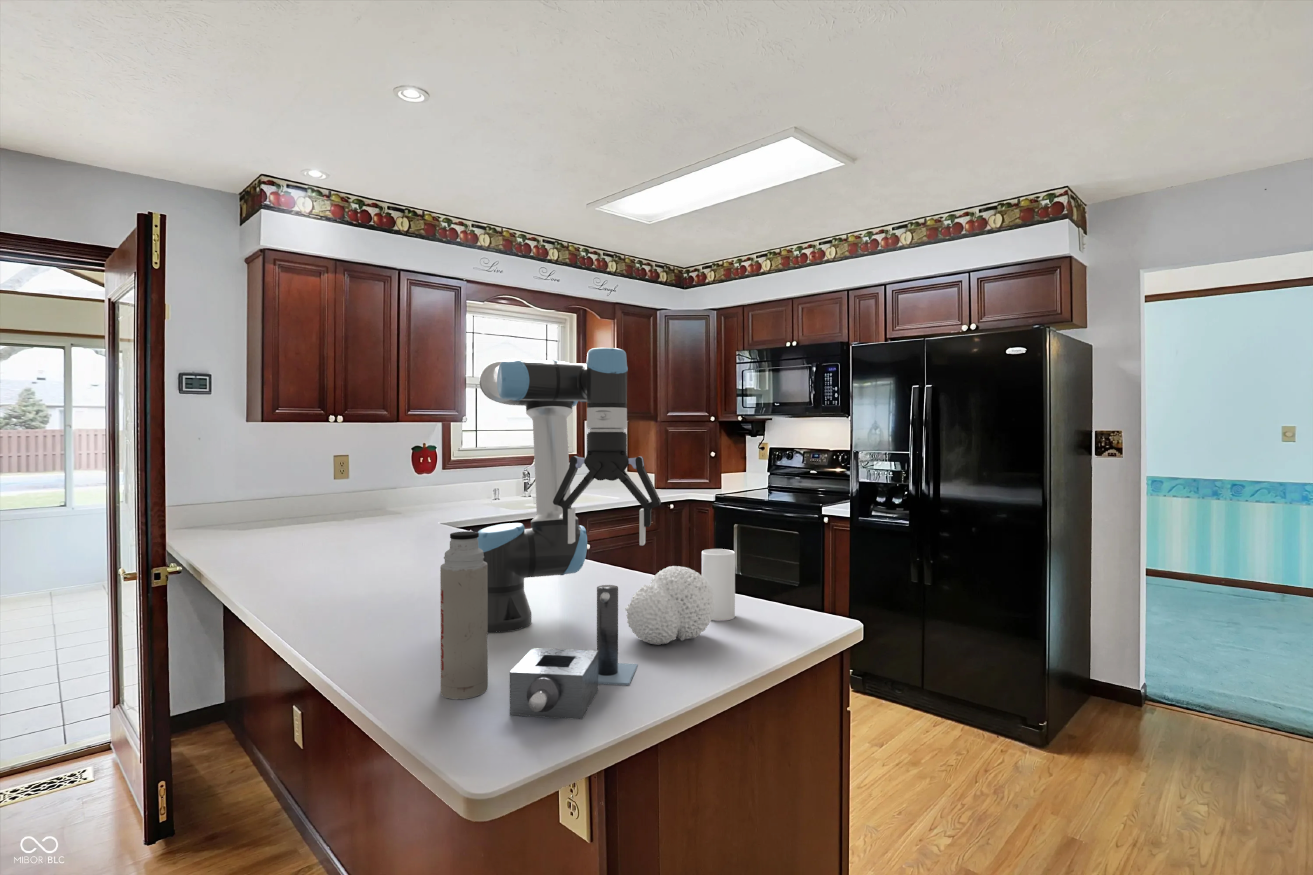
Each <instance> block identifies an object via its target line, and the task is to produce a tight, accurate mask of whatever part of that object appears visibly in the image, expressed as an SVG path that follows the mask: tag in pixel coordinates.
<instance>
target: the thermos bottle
mask: <svg viewBox="0 0 1313 875" xmlns="http://www.w3.org/2000/svg"><path fill="white" fill-rule="evenodd" d="M478 537H479V533H478V531H474V530H473V531H470V530H468V531H467V530H466V531H456V532H451V533H449V539H450V541H449V549H447V550H446V551H445V552H444V556H443V559H444V562H443V563H442V564H441V565H440V694H441V696H442V697H444V698H446V699H450V700H466V699H472V698H476V697H478V696H481V695H483V694H485V693H486V692H487V690H488V687H489V686H488V684H489V682H488V679H489V676H488V674H489V672H488V671H489V670H488V669H489V667H488V666H489V663H488V662H489V656H488V655H489V654H488V633H487V631H488V579H487V563H486V562H484V561H483V558H484V556H483V550H481V549H480V548H478V540H477V538H478Z"/></svg>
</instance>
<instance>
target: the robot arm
mask: <svg viewBox="0 0 1313 875" xmlns="http://www.w3.org/2000/svg"><path fill="white" fill-rule="evenodd" d="M586 353H587V354H586V355H587V356H586V361H585V363H574V362H573V363H570V362H567V361H561V360H556V359H551V360H547V359H544V360H543V359H519V358H509V359H506V358H505V359H502V360H501V359H500V360H497V361H496V360H495V361H493V362H491V363H488V365H486V366H485V367H484V368H482V370H481V373H480V375H479V386H480V389H481V392H482V393H483V394H484V396H485V397H486V398H487V399H489V400H491V401H494V402H496V403H499V404H503V405H509V406H522V407H523V406H525V411H526V412H525V413H526V415H527V416H528V417H530V419H532V431H533V433H532V434H533V455H534V456H533V457H534V460H533V461H534V482H535V485H534V486H535V504H536V505H535V506H536V508H535V509H536V515H534V517H533V518H532V520H530V528H525V525H524V524H523V523H521V522H512V523H510V522H509V523H500V524H495V525H491V526H487V527H484V528H482V529H481V528H480V529H479V530H478V531H477V532H478V533H479V537H478V538H477V540H478V548H480V549H481V550H483V556H484V558H483V561H484V562H486V563H487V579H488V631H487V634H488V633H490V634H492V633H494V634H495V633H496V634H497V633H506V632H507V633H508V632H513V631H518V630H521V629H524V628H526V627H528V626H530V625H531V624H532V621H533V620H532V617H533V616H532V609H531V606H530V605H529V602H528V601H529V600H528V598H527V595H526V592H525V579H526V578H527V579H528V578H538V577H539V578H541V577H550V576H551V577H552V576H564V575H570V574H576V573H578V572H579V571H581V569H582V568H583V566H584V564H585V560H586V556H587V551H588V535H587V530H586V528H585V526H583V525H580V524H579V518H578V517H577V516H576V507H572V506H573V504H574V503H575V502H576V500H577V499H578V498H579V497H580V496H581V494H582V493H584V491H585V490H586V488H588V486H589V485H591V483H592V482H593V481H594V479H595V480H597V481H605V480H606V481H611V482H612V481H617V480H619V481H620V482H621V483H622V484H623V485H624V486H625V487H626V489H627V490H628V491H629V493H631V495H632V496H633V497H634V498H635V500H636V501H637V502H638V503H639V504H640V506H641V507H642V508H640V509H639V528H638V529H639V532H638V533H639V534H638V535H639V546H645V544H646V543H647V542H646V531H647V530H646V528H649V527H651V525H652V510H653V509H654V508H656V507H657V508H658V507H659V506H661V504H662V501H661V499H660V496H659V494H658V492H657V491H656V488H655V486H654V484H653V482H652V480H651V478H650V476H649V474H648V472H647V470H646V468H645V461H644V457H643V456H641V455H640V456H637V457H630V458H629V456H628V440H627V439H628V434H627V433H626V432H625V431H624V430H626V429H627V428H628V400H627V399H628V371H629V370H628V369H629V367H628V362H627V360H628V358H627V353H626V351H625V350H624V349H621V348H616V347H593V348H591V349H589V350H588V351H587V352H586ZM578 402H581V403H586V429H589V431H588V433H586V455H585V457H581V456H580V457H579V456H578V455H574V456H571V457H570V458H569V456H570V455H569V440H568V437H569V436H568V420H567V419H568V417H569V416H570V415H571V414H572V413H573V407H575V406H577V404H578ZM583 465H585V467H586V468H587V470H588V472H587V473H586V474H585V475H584V477H583V479H582V480H581V481H580V482H579V483H578V484H577V486H576V487H575V488H574V489H573V491H572V492H571V485H572V483H573V481H574V478H575V477H576V475H577V473H578V469H580V468H581V467H582V466H583ZM629 465H631V466H632V468H633V469H635V470H636V473H637V475H638V477H639V479H640V481H641V483H642V485H643V487H644V489H645V491H646V493H647V495H648V497H649V499H650V500H649V499H648V498H647V497H646V495H645V494H644V493H643V492H642V491H641V489H639V487H638V486H637V485H636V484H635V482H634V481H633V480H632V479H631V476H629V474H628V473H627V472H626V470H627V468H629V467H628V466H629Z"/></svg>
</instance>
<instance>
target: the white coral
mask: <svg viewBox="0 0 1313 875" xmlns="http://www.w3.org/2000/svg"><path fill="white" fill-rule="evenodd" d="M625 611H626V612H627V614H626V618H627V622H626V623H627V624H628V627H629V628H630V629H631V631H632V633H633V634H634V635H635V636H636V637H637V638H638V639H640V640H641V641H643V643H644V642H646V643H647V644H649V645H650V644H652V645H656V646H657V645H658V646H661V644H662V645H665V644H669V643H670V642H672V641H675V640H676V639H677V638H678V639H679V640H680V641H682V642H684V641H685V640H688V639H693V638H694V639H696V638H697V637H699V636H700V635H702V633H703V632H704V631H706V629H707V627H708V626H709V625H710V622H711V621H712V620H711V619H712V617H713V612H714V597H713V592H712V590H711V588H710V586H709V584H708V583H707V581H706V580H705V579H704V578H703V577H702V574H700V572H697V571H696V570H694V569H691V568H690V567H686V566H679V565H678V566H677V565H672V566H671V565H670V566H667V567H666V568H663V569H662V570H659V572H657V573H656V574H655V575H654V577H653V578H652V579H651V582H650V585H647V584H644V585H643V586H641V587H640V588H639V589H637V591H636V592H635V594H633V595H632V597H631V600H630V603H629V604H627V606H626V607H625Z"/></svg>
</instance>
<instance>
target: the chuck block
mask: <svg viewBox="0 0 1313 875" xmlns="http://www.w3.org/2000/svg"><path fill="white" fill-rule="evenodd" d="M598 692H599V684H598V651H597V650H587V649H586V650H583V649H582V650H581V649H564V648H563V649H562V648H560V649H559V648H538V647H537V648H536V647H535V648H534V647H532V648H531V649H530V650H529V651H528V652H527V653H526V654H525V656H523V657H522V659H521V660H520V661H519V662H518V663H516V665H515V666H514V667H513V668H512V669H511V670H510V671H509V716H513V717H515V716H516V717H518V716H519V717H535V718H548V719H549V718H550V719H551V718H552V719H566V720H567V719H568V720H569V719H571V720H583V719H584V717H585V715H586V713H587V712H588V711H589V708H590V707H591V705H592V703H593V701H594V699H595V697H596V695H597V694H598Z"/></svg>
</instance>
